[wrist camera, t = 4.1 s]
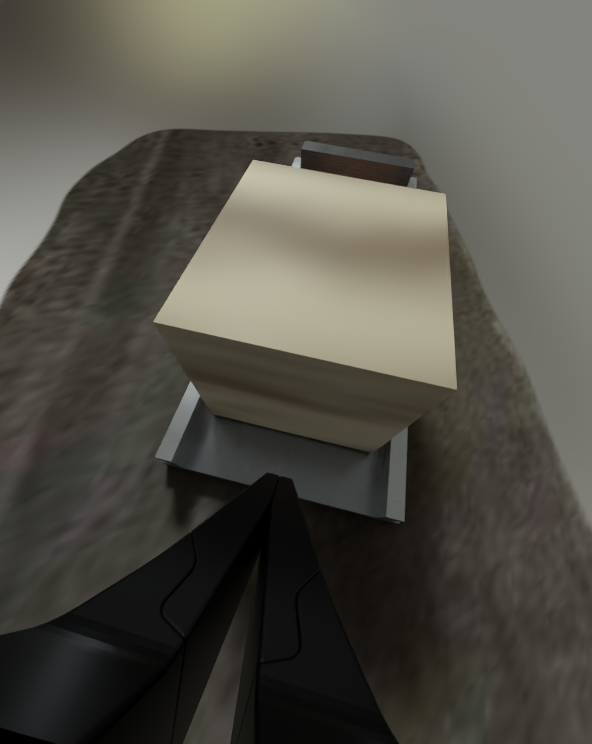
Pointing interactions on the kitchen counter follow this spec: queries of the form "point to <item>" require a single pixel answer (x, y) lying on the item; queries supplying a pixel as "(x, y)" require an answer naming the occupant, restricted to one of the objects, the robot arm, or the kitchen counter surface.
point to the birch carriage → (319, 307)
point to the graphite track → (287, 450)
